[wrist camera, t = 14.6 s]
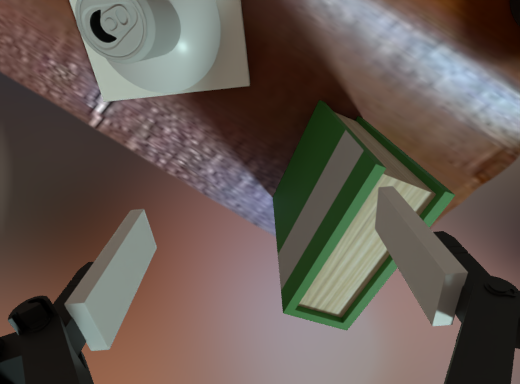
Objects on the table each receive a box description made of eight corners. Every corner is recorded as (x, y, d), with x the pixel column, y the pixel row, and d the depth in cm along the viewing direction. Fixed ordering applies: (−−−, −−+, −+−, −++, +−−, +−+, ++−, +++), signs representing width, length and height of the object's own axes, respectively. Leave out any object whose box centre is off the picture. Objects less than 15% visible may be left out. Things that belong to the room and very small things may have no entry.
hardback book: (319, 99, 44) (376, 164, 23) (363, 118, 45) (455, 195, 24) (272, 197, 52) (283, 313, 31) (311, 210, 53) (346, 330, 32)
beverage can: (115, 8, 34) (51, -2, 23) (164, -19, 33) (120, -42, 22) (146, 64, 37) (101, 77, 26) (192, 41, 36) (165, 46, 25)
